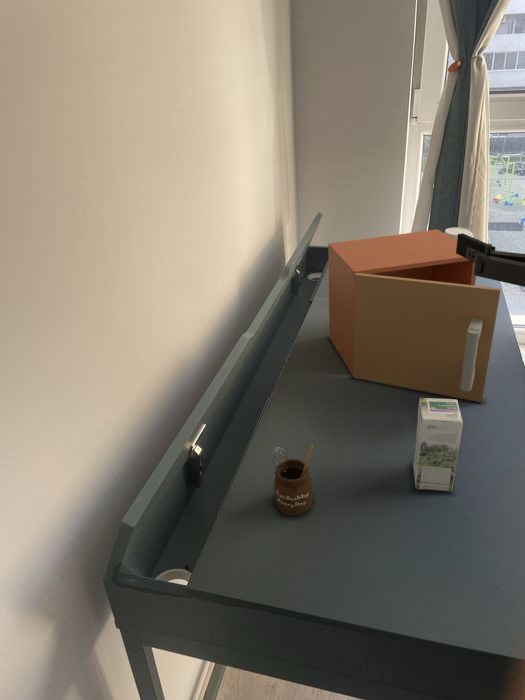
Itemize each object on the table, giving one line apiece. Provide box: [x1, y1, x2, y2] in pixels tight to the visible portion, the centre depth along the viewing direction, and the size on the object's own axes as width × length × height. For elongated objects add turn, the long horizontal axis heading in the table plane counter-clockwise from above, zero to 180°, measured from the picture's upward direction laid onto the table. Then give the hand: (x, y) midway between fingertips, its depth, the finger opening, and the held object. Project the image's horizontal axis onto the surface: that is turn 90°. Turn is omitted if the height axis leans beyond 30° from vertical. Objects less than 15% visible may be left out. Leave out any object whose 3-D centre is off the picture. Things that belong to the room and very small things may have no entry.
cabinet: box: [327, 229, 477, 376], centre depth 118 cm, size 18×26×24 cm
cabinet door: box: [352, 273, 502, 403], centre depth 100 cm, size 7×26×24 cm, turn 64°
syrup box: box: [412, 397, 464, 493], centre depth 82 cm, size 6×6×14 cm
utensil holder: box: [270, 441, 314, 516], centre depth 81 cm, size 6×6×12 cm
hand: (500, 235), depth 74 cm, fingers open, 13 cm apart
